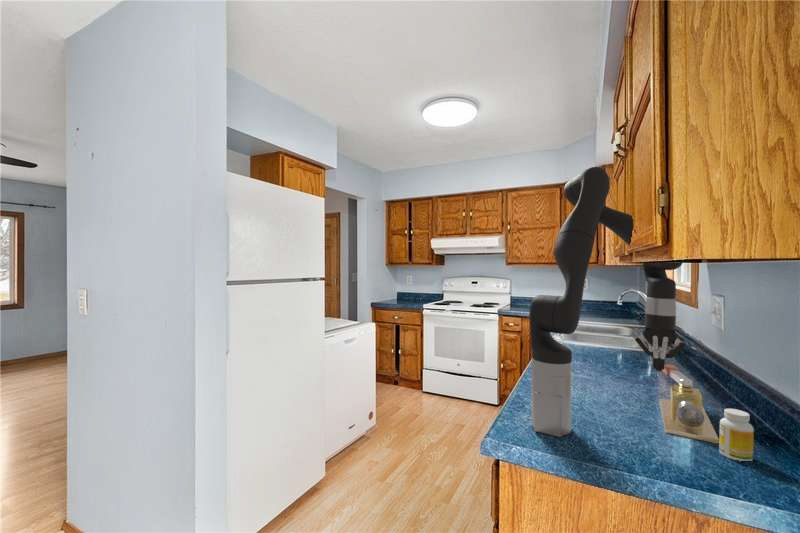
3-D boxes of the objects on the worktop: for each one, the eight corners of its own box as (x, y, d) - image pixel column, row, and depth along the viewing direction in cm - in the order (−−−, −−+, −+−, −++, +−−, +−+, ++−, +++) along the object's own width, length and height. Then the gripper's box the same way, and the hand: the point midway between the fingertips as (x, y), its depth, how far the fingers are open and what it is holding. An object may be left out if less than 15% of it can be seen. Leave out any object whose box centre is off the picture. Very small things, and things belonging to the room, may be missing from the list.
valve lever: (694, 389, 94) (694, 381, 94) (681, 387, 95) (681, 379, 95) (672, 372, 109) (673, 364, 109) (661, 371, 110) (661, 363, 110)
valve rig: (719, 443, 83) (719, 406, 83) (665, 432, 88) (665, 397, 88) (702, 409, 103) (702, 378, 103) (659, 401, 108) (659, 372, 108)
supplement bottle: (712, 451, 80) (713, 408, 79) (730, 448, 81) (731, 405, 81) (741, 464, 74) (741, 418, 74) (759, 461, 76) (760, 415, 76)
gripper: (635, 312, 108) (633, 369, 108) (690, 316, 101) (688, 377, 101) (633, 309, 114) (631, 364, 114) (685, 313, 108) (683, 371, 108)
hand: (658, 370), depth 108 cm, fingers closed
